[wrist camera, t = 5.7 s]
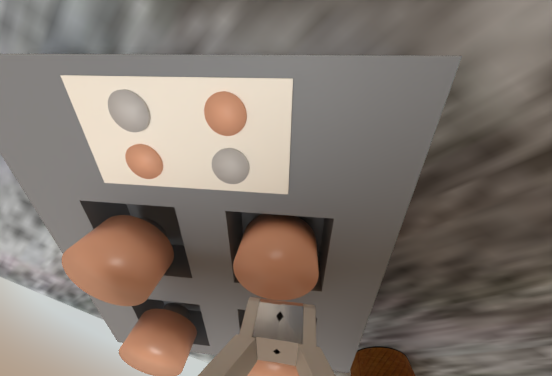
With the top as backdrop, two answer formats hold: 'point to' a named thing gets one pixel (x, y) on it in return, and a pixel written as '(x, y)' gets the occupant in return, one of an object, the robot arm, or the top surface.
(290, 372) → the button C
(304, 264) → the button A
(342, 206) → the console
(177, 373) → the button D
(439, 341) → the top surface
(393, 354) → the disposable coffee cup
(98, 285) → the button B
